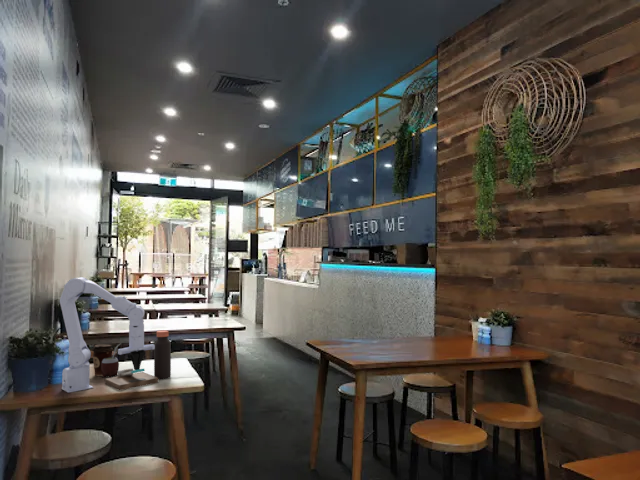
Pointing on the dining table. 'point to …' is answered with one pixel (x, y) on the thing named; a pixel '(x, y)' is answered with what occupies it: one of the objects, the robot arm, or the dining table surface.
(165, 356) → the bottle
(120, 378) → the base plate
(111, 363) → the mate gourd
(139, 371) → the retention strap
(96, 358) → the dark brown jar
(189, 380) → the dining table surface
